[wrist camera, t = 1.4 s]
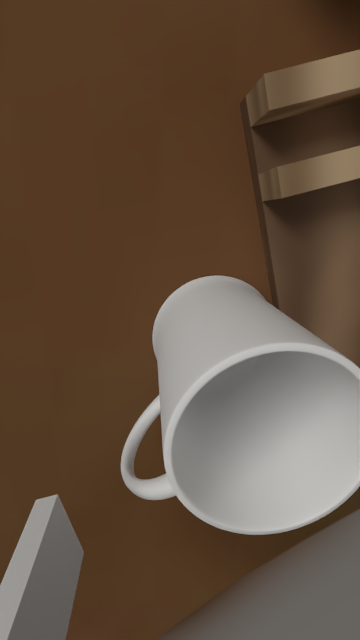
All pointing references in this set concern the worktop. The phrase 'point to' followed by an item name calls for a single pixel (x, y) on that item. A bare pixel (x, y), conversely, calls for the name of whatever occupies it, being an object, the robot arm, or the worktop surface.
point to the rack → (310, 193)
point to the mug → (248, 413)
